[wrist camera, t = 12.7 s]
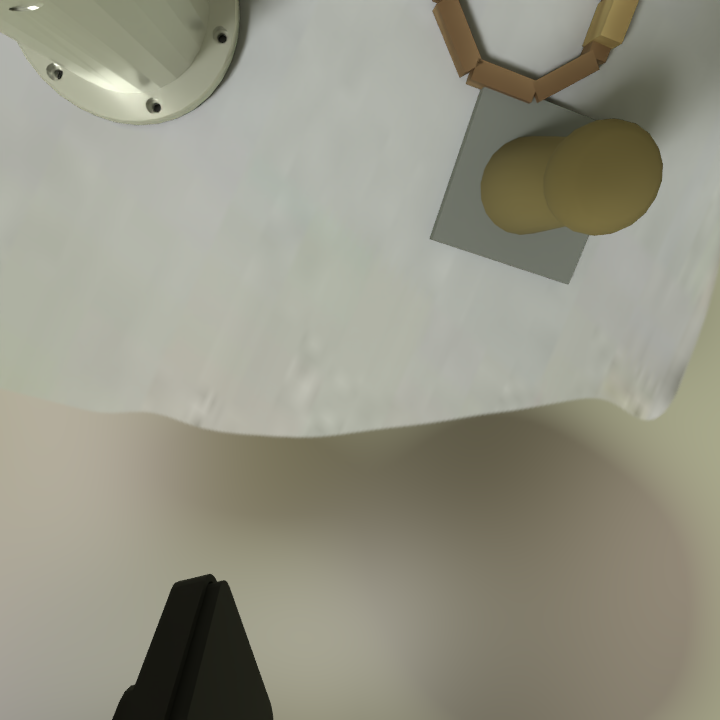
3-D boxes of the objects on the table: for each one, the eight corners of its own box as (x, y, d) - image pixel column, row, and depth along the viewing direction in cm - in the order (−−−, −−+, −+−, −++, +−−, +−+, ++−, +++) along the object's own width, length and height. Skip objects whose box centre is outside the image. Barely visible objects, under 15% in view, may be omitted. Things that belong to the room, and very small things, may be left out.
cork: (504, 120, 33) (595, 77, 22) (588, 158, 34) (712, 135, 23) (465, 214, 34) (532, 217, 23) (546, 248, 35) (645, 265, 24)
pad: (429, 238, 35) (432, 239, 34) (483, 81, 33) (487, 78, 32) (563, 282, 37) (568, 284, 36) (623, 135, 34) (631, 133, 33)
